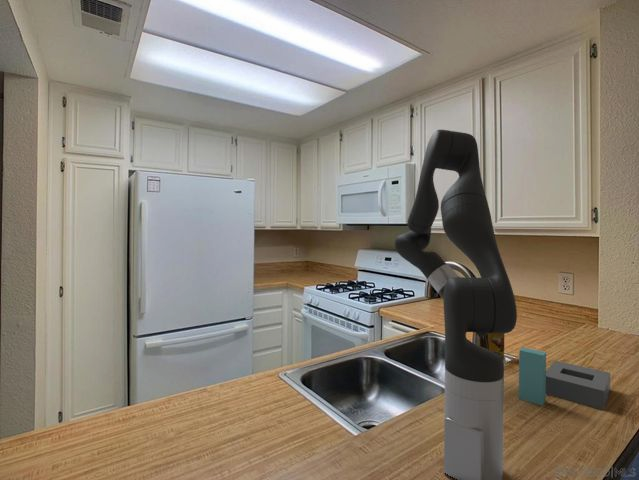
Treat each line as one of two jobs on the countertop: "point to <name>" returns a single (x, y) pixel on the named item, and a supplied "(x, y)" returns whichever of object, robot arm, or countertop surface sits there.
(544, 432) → the countertop surface
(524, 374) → the teal rectangular block
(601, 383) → the gray slotted block
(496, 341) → the condiment
